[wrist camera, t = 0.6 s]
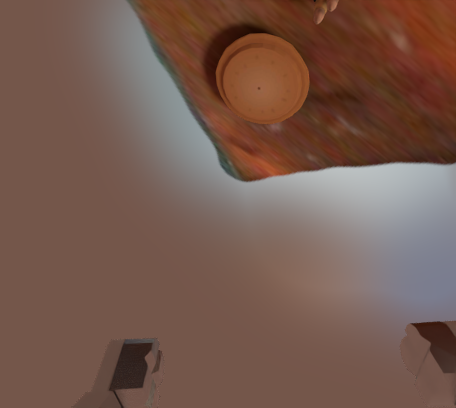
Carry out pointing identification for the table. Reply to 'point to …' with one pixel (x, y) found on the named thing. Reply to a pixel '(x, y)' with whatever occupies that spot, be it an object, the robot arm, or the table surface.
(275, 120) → the pie
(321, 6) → the ammunition clip
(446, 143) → the table surface
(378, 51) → the table surface
